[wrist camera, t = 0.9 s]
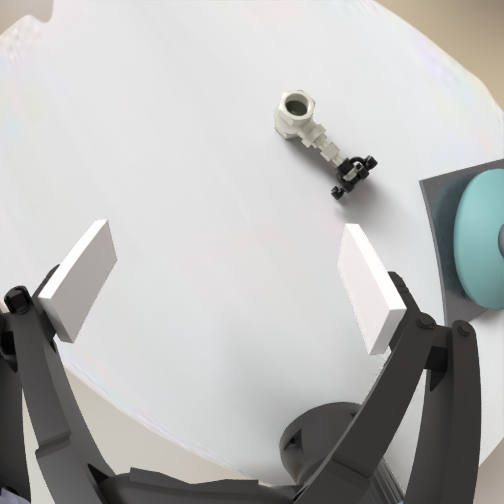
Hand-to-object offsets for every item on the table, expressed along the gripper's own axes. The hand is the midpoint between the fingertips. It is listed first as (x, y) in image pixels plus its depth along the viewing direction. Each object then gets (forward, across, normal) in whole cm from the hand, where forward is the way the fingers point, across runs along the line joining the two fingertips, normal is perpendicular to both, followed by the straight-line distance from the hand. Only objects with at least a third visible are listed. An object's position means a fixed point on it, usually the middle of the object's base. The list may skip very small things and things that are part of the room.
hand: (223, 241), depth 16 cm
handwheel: (+13, -38, +6) cm, 40 cm away
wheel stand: (+16, -38, +8) cm, 42 cm away
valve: (+21, -9, 0) cm, 23 cm away
